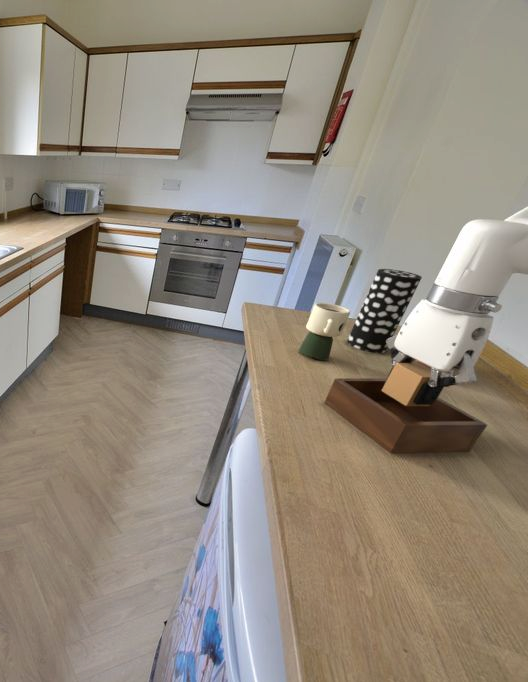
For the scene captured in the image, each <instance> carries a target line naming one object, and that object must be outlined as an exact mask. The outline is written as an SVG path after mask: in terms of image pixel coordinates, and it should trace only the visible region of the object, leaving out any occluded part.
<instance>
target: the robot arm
mask: <svg viewBox="0 0 528 682" xmlns="http://www.w3.org/2000/svg"><path fill="white" fill-rule="evenodd" d="M513 274H523V275H528V206H526V207H524V208H523V209H521V210H519V211H517V212H515V213H514V214H512V215H511V216H509V217H507V218H505V219H504V220H501V219H489V218H478V219H473V220H470V221H468V222H467V223H466V224H464V225H463V227H462V228H461V230H460V231H459V233H458V235H457V237H456V240H455V242H454V243H453V245H452V247H451V250H450V251H449V253H448V255H447V257H446V259H445V261H444V263H443V265H442V267H441V268H440V270H439V273H438V274H437V276H436V279H435V280H434V282H433V284H432V286H431V288H430V290H429V292H428V294H427V296H426V297H425V298H422V299H421V300H420V301H419V302H418V303H417V304H416V305H415V307H414V308H413V309H412V311H411V312H410V314H409V315H408V317H407V318H406V320H405V321H404V323H403V324H402V326H401V327H400V330H399V331H398V333H396V334H394V335H393V336H392V337H390V338H388V339H387V340H386V343H387V345H388V348H387V349H388V350H389V354H390V359H391V360H390V365H391V366H392V367H391V369H390V371H389V372H388V375H387V377H386V378H387V379H388V377H389V375H390V373H391V372H392V370H393V368H394V366H395V364H396V363H414V362H415V360H417V361H419V362H421V363H423V364H425V365H427V366H429V367H431V371H430V376H429V381H428V383H424V384H423V385H422V387H421V388H420V390H419V392H418V394H417V396H416V397H415V399H414V403H415V404H417V405H431V404H433V402H435V401H436V399H437V398H438V397H439V396H440V394H441V393H442V391H443V389H444V388H449V387H450V386H455V385H461V384H471V383H475V382H477V376H476V373H475V369H474V367H475V365H476V364H477V362H478V360H479V358H480V357H481V355H482V353H483V351H484V348H485V346H486V345H487V341H488V339H489V336H490V333H491V330H492V326H493V323H494V316H491V315H489V314H490V313H495V314H496V313H498V312H500V311H501V310H502V309H503V305H502V304H500V303H498V300H499V297H500V295H501V294H502V292H503V290H504V289H505V287H506V285H507V284H508V282H509V280H510V279H511V277H512V275H513ZM455 370H456V371H457V372H458V374H457V375H454V371H455ZM441 372H442V375H441ZM440 376H441V378H440ZM387 379H386V381H387ZM386 381H385V383H386ZM385 383H384V385H385Z"/></svg>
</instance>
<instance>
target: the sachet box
mask: <svg viewBox="0 0 528 682" xmlns="http://www.w3.org/2000/svg"><path fill="white" fill-rule="evenodd" d="M430 371H431V369H429V368H427V367H425V366H423V365H421V364H419V363H414V362H413V363H396V364H395V366H394V368H393V370H392V372H391V373H390V372H389V373H390V375H389V374H388V375H389V377H388V376H387V377H388V379H387V381H386V383H385V385H384V387H383V389H382V392H384V393H386V394H387V395H389V396H391V397H392V398H394V399H395V400H397V401H399V402H400V403H402V404H403V405H405V406H430V405H417V404H415V403H414V399H415V397H416V396H417V394H418V392H419V390H420V388H421V387H422V385H423V384H424V383H428V381H429V376H430ZM440 378H441V376H440Z"/></svg>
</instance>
